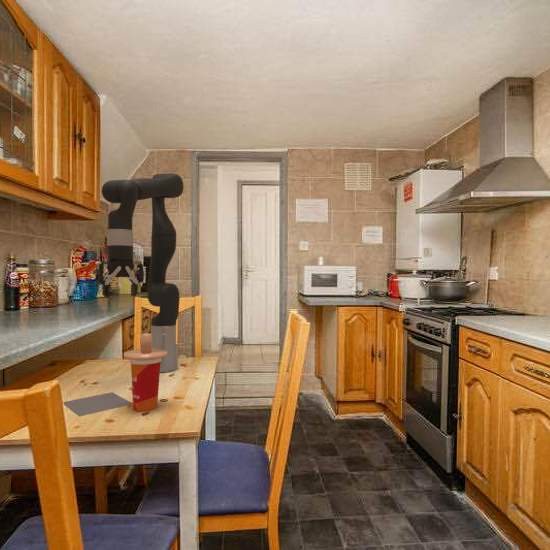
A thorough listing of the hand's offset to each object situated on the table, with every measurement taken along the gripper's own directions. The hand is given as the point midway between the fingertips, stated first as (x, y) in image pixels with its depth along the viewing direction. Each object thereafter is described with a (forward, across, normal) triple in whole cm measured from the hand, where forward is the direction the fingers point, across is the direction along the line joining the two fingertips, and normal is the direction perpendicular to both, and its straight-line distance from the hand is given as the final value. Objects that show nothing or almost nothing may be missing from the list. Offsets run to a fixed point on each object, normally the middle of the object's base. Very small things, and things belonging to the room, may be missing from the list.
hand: (120, 296), depth 122 cm
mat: (+29, +11, +9) cm, 33 cm away
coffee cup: (+30, +3, +22) cm, 37 cm away
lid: (+14, +3, +22) cm, 26 cm away
